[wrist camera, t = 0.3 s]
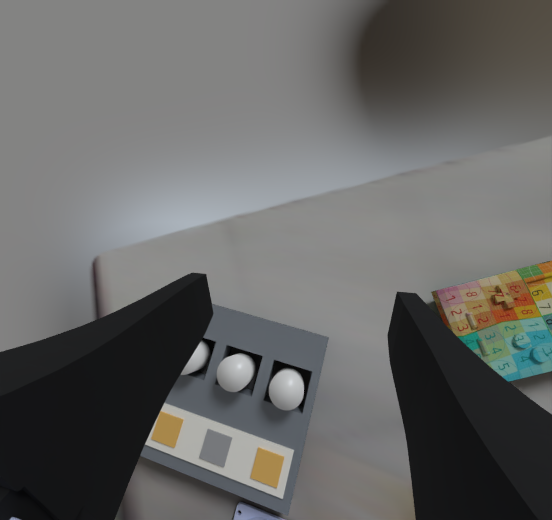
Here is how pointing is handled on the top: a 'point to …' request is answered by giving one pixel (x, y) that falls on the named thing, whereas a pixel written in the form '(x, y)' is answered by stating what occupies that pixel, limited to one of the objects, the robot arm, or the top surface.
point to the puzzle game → (504, 319)
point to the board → (240, 414)
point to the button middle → (236, 372)
